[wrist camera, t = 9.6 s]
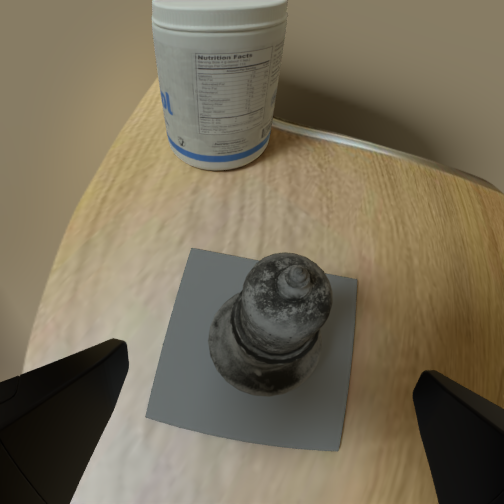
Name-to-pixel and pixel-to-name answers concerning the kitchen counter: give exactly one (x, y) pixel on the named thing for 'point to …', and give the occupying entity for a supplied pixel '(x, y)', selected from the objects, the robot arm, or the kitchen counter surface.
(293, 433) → the slate mat
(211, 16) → the supplement tub
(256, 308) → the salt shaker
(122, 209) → the kitchen counter surface
